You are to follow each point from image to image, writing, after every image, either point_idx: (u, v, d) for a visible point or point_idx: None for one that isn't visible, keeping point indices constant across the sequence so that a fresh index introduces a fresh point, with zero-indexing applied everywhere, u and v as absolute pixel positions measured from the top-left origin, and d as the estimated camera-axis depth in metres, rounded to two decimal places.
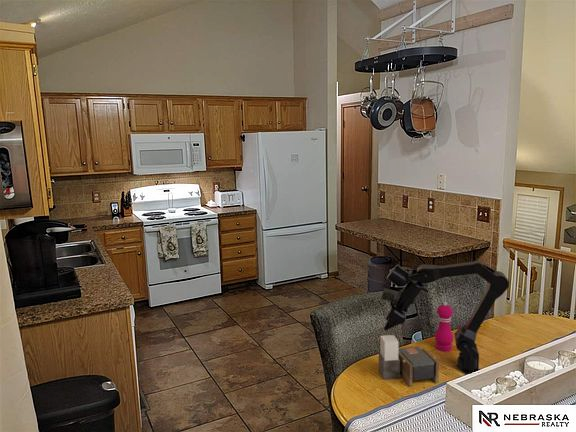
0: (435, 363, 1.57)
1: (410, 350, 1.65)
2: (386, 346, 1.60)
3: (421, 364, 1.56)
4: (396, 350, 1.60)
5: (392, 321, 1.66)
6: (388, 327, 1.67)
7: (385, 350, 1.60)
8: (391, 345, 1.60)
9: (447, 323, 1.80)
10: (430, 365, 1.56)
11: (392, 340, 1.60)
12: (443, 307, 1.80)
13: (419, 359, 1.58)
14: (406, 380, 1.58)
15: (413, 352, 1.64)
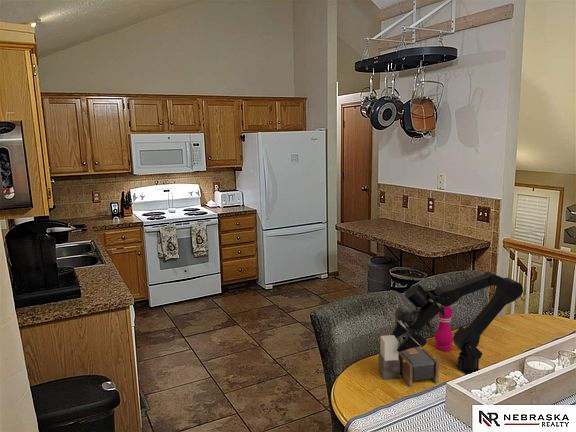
0: (435, 363, 1.57)
1: (410, 350, 1.65)
2: (386, 346, 1.60)
3: (421, 364, 1.56)
4: (396, 350, 1.60)
5: (408, 343, 1.57)
6: (402, 349, 1.58)
7: (385, 350, 1.60)
8: (391, 345, 1.60)
9: (447, 323, 1.80)
10: (430, 365, 1.56)
11: (392, 340, 1.60)
12: None
13: (419, 359, 1.58)
14: (406, 380, 1.58)
15: (413, 352, 1.64)
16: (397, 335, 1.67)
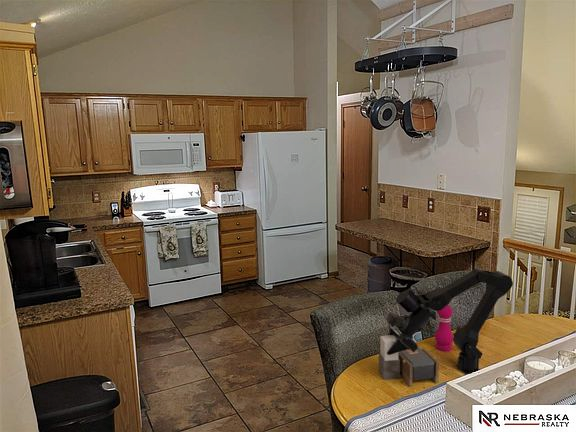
0: (435, 363, 1.57)
1: (410, 350, 1.65)
2: (386, 346, 1.60)
3: (421, 364, 1.56)
4: None
5: (398, 346, 1.58)
6: (392, 352, 1.59)
7: (385, 350, 1.60)
8: (391, 345, 1.60)
9: (447, 323, 1.80)
10: (430, 365, 1.56)
11: (392, 340, 1.60)
12: None
13: (419, 359, 1.58)
14: (406, 380, 1.58)
15: (413, 352, 1.64)
16: None
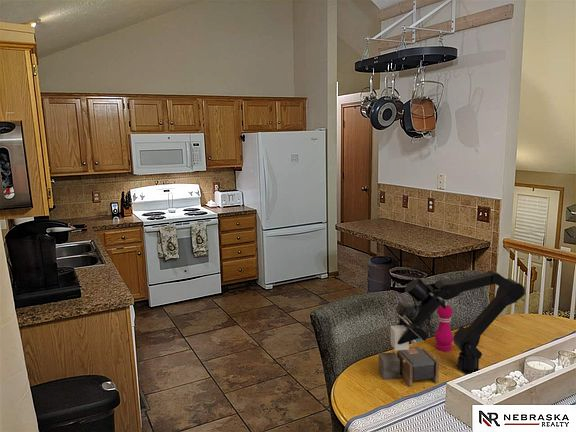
0: (435, 363, 1.57)
1: (410, 350, 1.65)
2: (396, 336, 1.60)
3: (421, 364, 1.56)
4: None
5: (409, 335, 1.59)
6: (403, 341, 1.59)
7: (395, 340, 1.60)
8: (402, 334, 1.60)
9: (447, 323, 1.80)
10: (430, 365, 1.56)
11: (402, 330, 1.61)
12: None
13: (419, 359, 1.58)
14: (406, 380, 1.58)
15: (413, 352, 1.64)
16: None
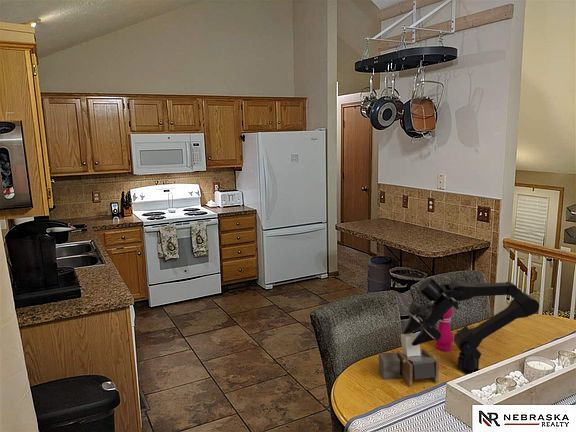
0: (435, 363, 1.57)
1: None
2: (407, 341, 1.63)
3: (421, 362, 1.56)
4: (417, 345, 1.63)
5: (423, 337, 1.58)
6: (417, 343, 1.59)
7: (407, 345, 1.63)
8: (412, 340, 1.63)
9: (447, 323, 1.80)
10: (430, 362, 1.56)
11: (412, 335, 1.64)
12: None
13: (419, 358, 1.58)
14: (406, 380, 1.58)
15: None
16: (411, 329, 1.69)
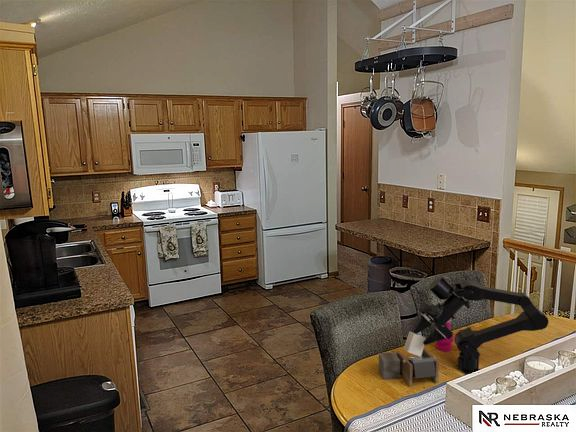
0: (435, 363, 1.57)
1: (410, 356, 1.65)
2: (414, 338, 1.63)
3: (421, 360, 1.56)
4: (422, 346, 1.63)
5: (434, 336, 1.59)
6: (428, 342, 1.59)
7: (412, 342, 1.63)
8: (419, 339, 1.63)
9: (447, 323, 1.80)
10: (430, 361, 1.56)
11: (420, 336, 1.65)
12: None
13: (419, 358, 1.59)
14: (406, 380, 1.58)
15: (413, 356, 1.64)
16: (421, 328, 1.69)
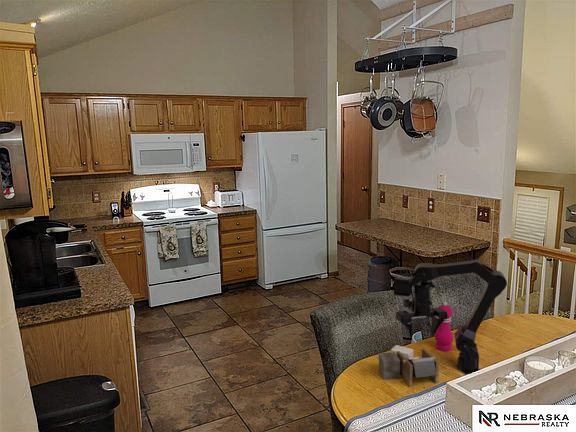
0: (435, 363, 1.57)
1: None
2: (395, 350, 1.72)
3: (421, 359, 1.56)
4: (403, 347, 1.74)
5: (407, 326, 1.68)
6: (408, 334, 1.68)
7: None
8: (396, 348, 1.74)
9: (447, 323, 1.80)
10: (430, 360, 1.56)
11: None
12: (443, 307, 1.80)
13: (419, 358, 1.59)
14: (406, 380, 1.58)
15: None
16: (433, 328, 1.69)
